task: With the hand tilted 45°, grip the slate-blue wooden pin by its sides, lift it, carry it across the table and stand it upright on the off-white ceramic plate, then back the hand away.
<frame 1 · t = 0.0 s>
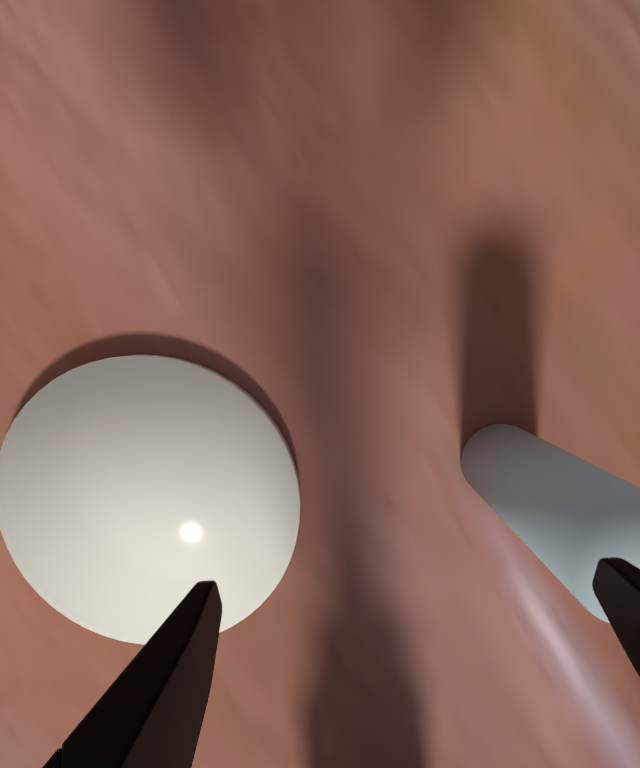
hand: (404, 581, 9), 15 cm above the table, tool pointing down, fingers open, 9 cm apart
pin: (498, 460, 24), on the table
plate: (155, 500, 25), on the table
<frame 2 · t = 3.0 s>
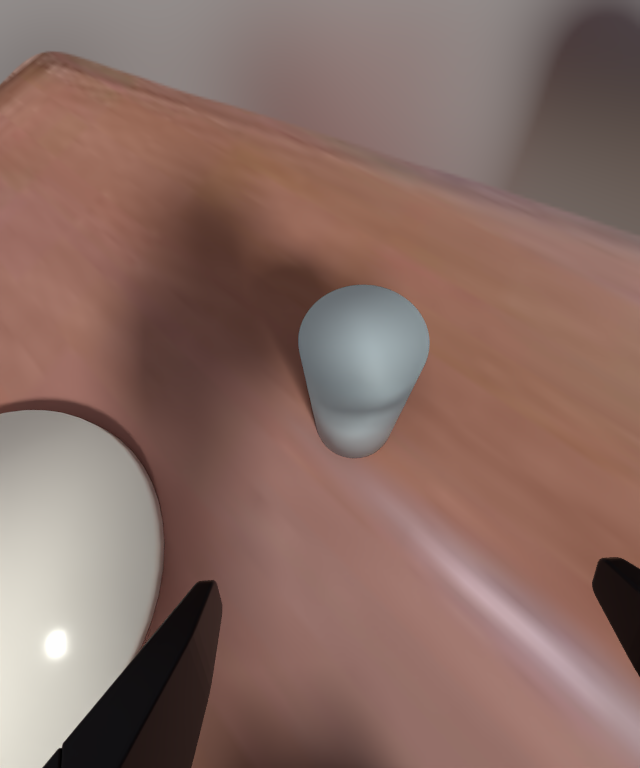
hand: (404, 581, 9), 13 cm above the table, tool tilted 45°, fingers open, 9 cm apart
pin: (353, 420, 24), on the table
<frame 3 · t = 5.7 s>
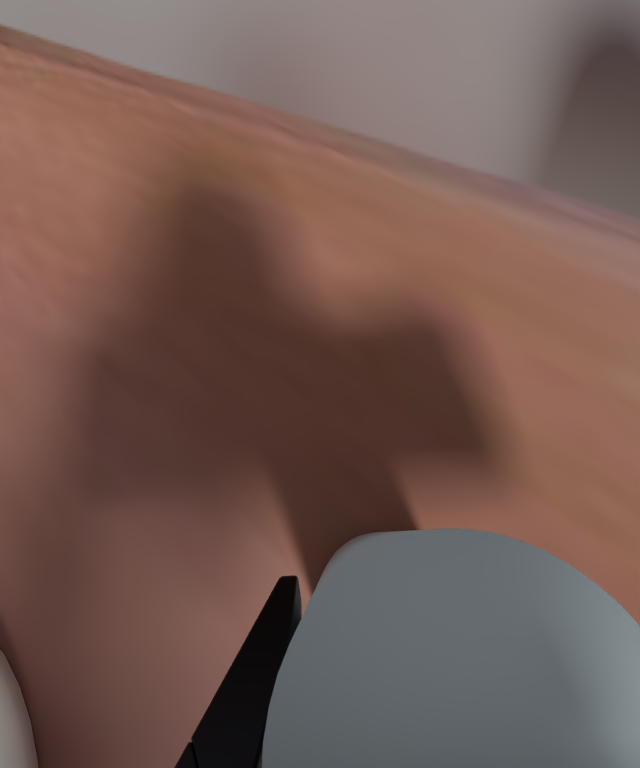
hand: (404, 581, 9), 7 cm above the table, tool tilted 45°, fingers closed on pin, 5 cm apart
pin: (382, 601, 14), on the table, touching gripper
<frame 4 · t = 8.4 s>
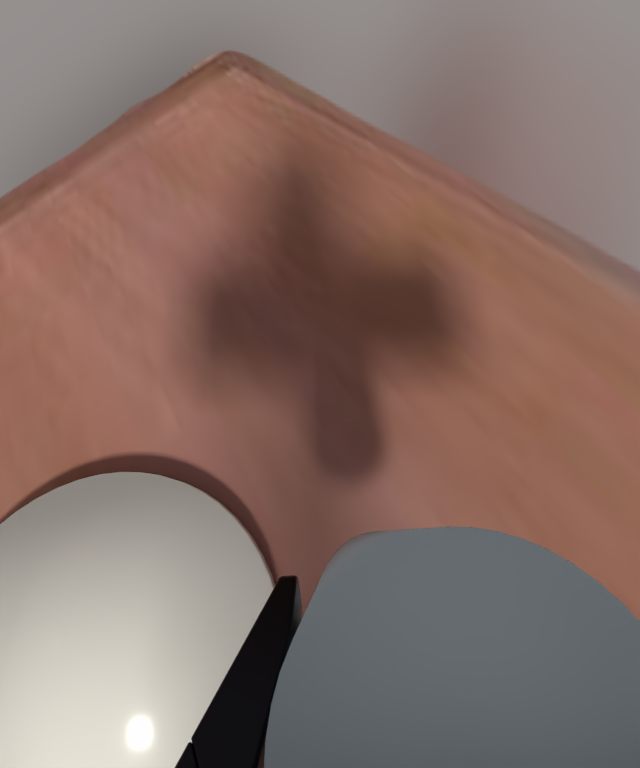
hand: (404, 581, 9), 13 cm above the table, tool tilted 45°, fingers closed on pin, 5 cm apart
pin: (382, 600, 14), point 7 cm above the table, touching gripper
plate: (102, 663, 20), on the table
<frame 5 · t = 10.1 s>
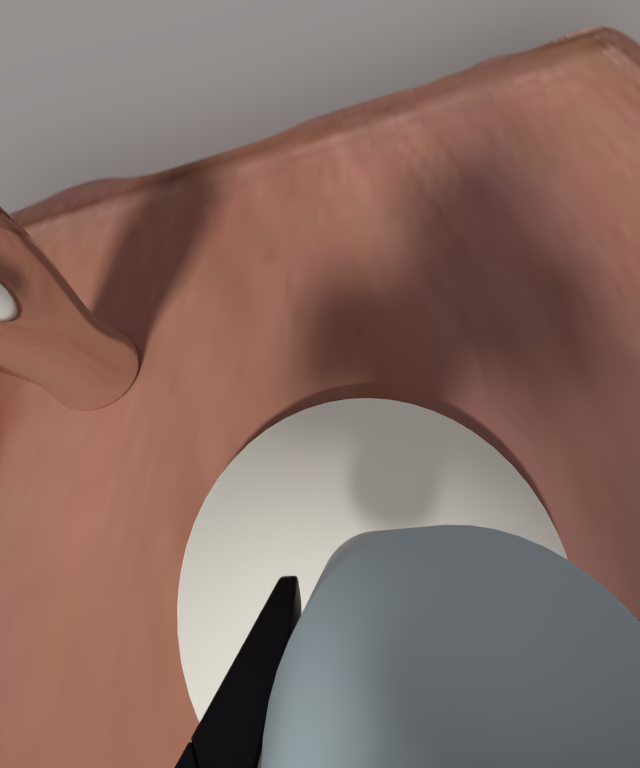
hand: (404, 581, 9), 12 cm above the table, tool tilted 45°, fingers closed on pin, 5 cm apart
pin: (381, 600, 14), point 6 cm above the table, touching gripper
plate: (370, 580, 20), on the table
beer glass: (98, 371, 26), on the table
when the fingers open (9 cm above the table, at t = 11.1 s): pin drops 1 cm, resting on plate.
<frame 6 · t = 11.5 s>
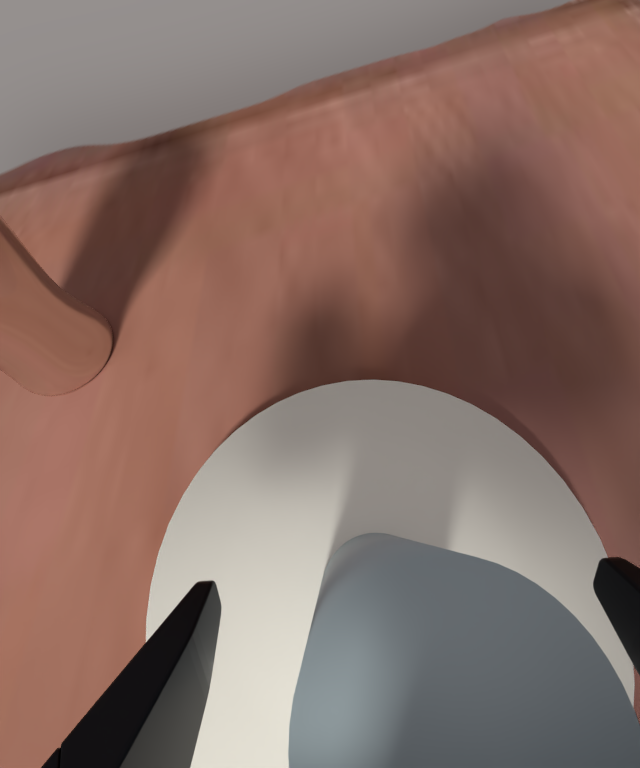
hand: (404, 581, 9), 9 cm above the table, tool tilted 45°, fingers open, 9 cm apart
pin: (379, 596, 15), point 1 cm above the table, touching plate
plate: (375, 591, 17), on the table
beer glass: (67, 352, 23), on the table
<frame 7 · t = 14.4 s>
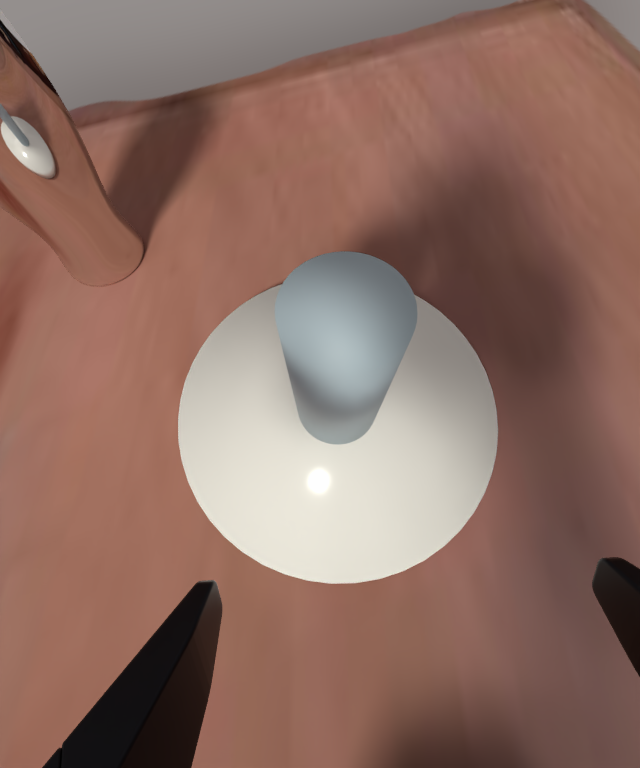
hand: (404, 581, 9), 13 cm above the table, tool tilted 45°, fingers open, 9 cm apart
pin: (337, 405, 23), point 1 cm above the table, touching plate
plate: (336, 410, 24), on the table
beer glass: (107, 257, 29), on the table
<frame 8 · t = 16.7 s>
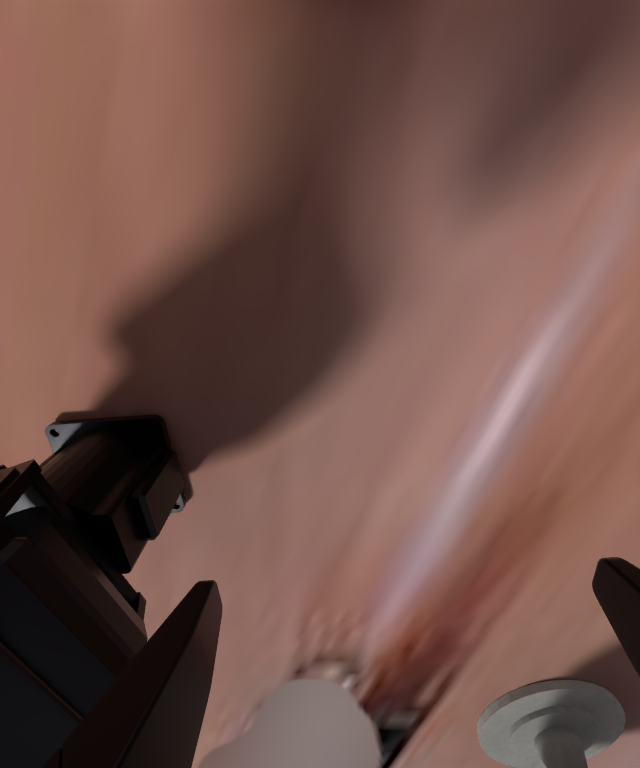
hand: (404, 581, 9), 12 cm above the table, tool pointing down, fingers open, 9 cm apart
mate gourd: (550, 723, 32), on the table
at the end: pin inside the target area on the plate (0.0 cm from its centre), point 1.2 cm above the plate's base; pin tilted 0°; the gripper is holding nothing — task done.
